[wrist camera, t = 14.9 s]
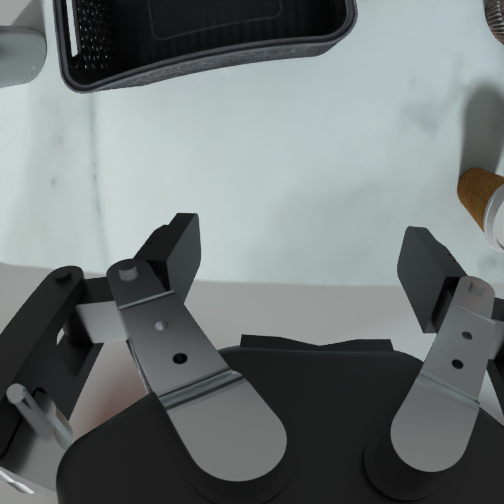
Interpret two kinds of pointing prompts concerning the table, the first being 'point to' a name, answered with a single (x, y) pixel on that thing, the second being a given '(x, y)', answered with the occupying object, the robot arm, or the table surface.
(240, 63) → the storage bin
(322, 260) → the table surface
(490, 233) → the disposable coffee cup
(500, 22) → the cupcake
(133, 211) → the table surface
